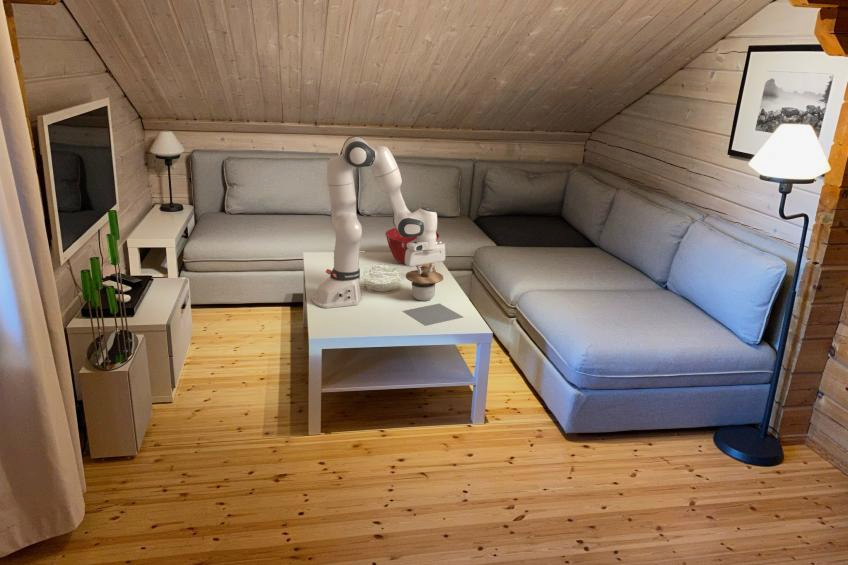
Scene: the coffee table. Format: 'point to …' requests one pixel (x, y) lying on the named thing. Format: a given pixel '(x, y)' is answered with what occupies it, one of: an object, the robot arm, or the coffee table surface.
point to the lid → (424, 276)
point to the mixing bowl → (399, 244)
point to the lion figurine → (428, 266)
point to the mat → (432, 314)
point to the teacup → (423, 291)
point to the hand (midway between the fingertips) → (424, 272)
